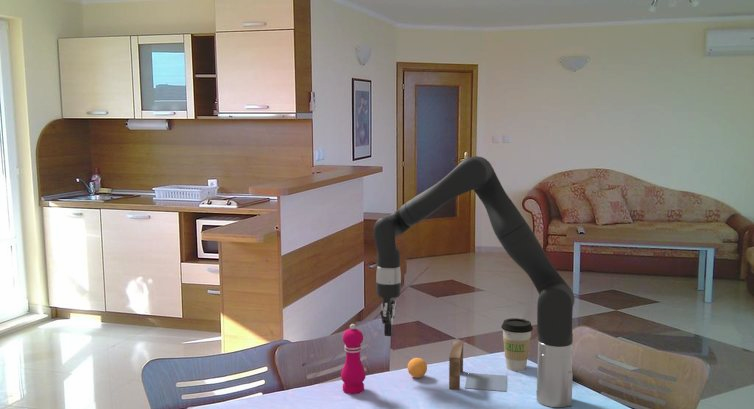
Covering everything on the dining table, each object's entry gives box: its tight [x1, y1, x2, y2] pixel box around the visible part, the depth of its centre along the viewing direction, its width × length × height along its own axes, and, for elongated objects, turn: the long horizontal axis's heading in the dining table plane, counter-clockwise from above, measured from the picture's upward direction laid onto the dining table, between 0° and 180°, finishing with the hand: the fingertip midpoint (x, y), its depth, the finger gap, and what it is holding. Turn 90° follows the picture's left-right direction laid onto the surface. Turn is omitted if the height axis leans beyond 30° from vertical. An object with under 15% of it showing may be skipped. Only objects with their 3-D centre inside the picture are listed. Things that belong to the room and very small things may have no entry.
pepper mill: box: [340, 323, 367, 395], centre depth 184 cm, size 7×7×20 cm
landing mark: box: [464, 372, 507, 392], centre depth 190 cm, size 12×12×1 cm
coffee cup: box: [501, 317, 533, 372], centre depth 201 cm, size 10×10×15 cm
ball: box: [407, 357, 428, 379], centre depth 194 cm, size 6×6×6 cm
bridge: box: [448, 340, 464, 391], centre depth 191 cm, size 3×15×10 cm, turn 168°
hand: (388, 335), depth 195 cm, fingers closed
